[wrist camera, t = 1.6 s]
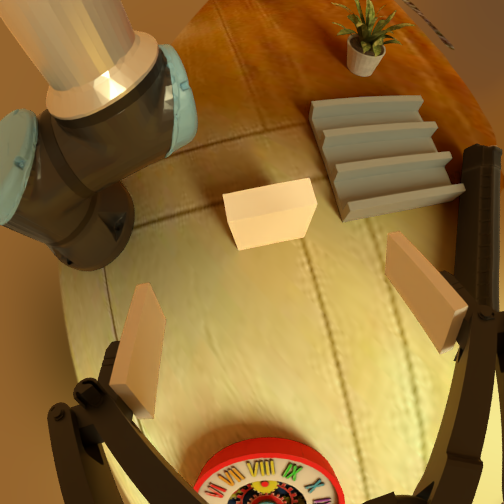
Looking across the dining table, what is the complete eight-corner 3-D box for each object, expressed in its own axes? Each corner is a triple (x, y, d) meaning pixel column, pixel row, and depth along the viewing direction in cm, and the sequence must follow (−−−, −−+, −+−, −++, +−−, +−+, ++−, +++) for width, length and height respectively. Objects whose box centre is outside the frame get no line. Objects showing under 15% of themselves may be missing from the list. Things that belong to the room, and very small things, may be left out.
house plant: (302, 54, 50) (308, -14, 35) (352, 36, 52) (366, -23, 36) (354, 100, 47) (376, 30, 31) (401, 77, 49) (428, 17, 33)
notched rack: (452, 201, 43) (465, 190, 38) (342, 222, 42) (350, 211, 38) (411, 110, 47) (420, 95, 42) (308, 118, 47) (311, 101, 42)
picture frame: (304, 237, 42) (317, 204, 31) (238, 250, 42) (227, 222, 31) (298, 215, 43) (308, 176, 31) (234, 228, 43) (222, 192, 31)
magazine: (491, 358, 29) (530, 132, 26) (474, 355, 29) (515, 122, 26) (438, 323, 46) (473, 156, 43) (423, 320, 46) (459, 150, 43)
